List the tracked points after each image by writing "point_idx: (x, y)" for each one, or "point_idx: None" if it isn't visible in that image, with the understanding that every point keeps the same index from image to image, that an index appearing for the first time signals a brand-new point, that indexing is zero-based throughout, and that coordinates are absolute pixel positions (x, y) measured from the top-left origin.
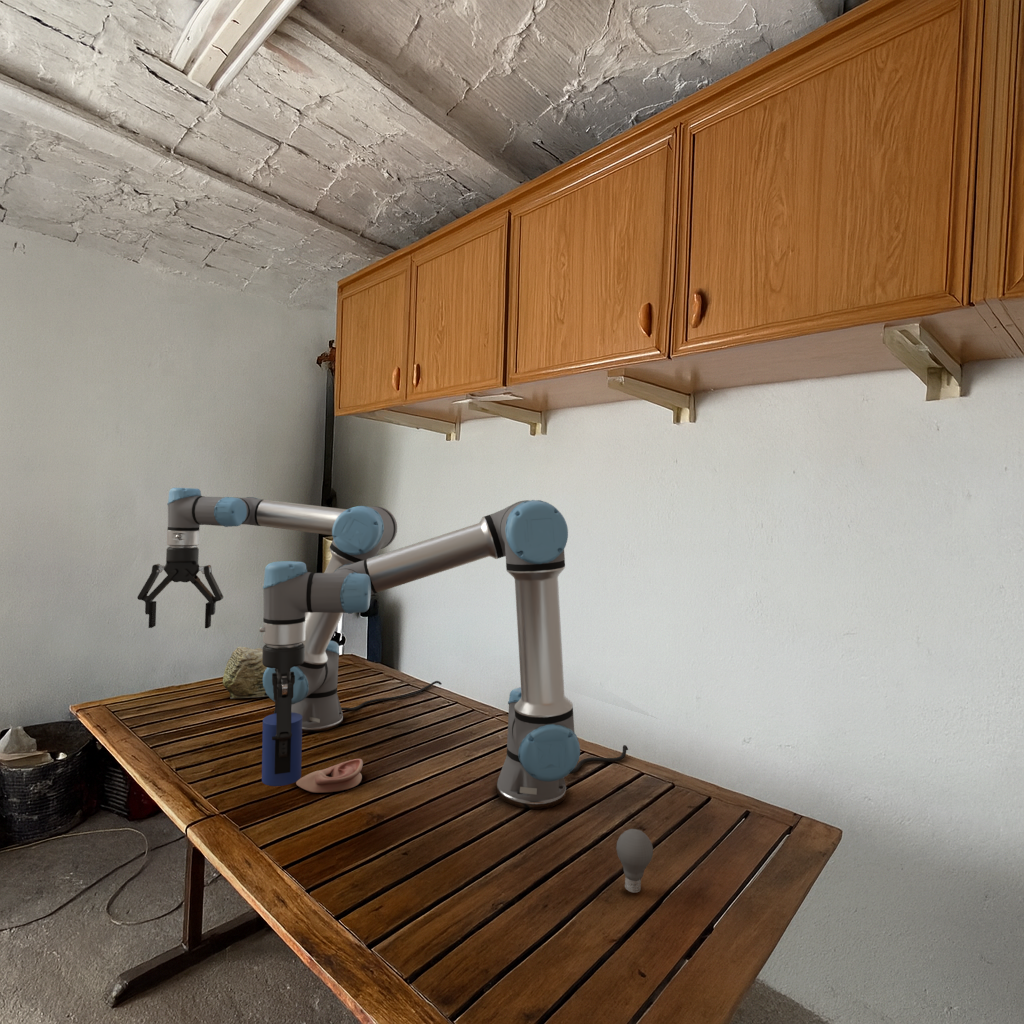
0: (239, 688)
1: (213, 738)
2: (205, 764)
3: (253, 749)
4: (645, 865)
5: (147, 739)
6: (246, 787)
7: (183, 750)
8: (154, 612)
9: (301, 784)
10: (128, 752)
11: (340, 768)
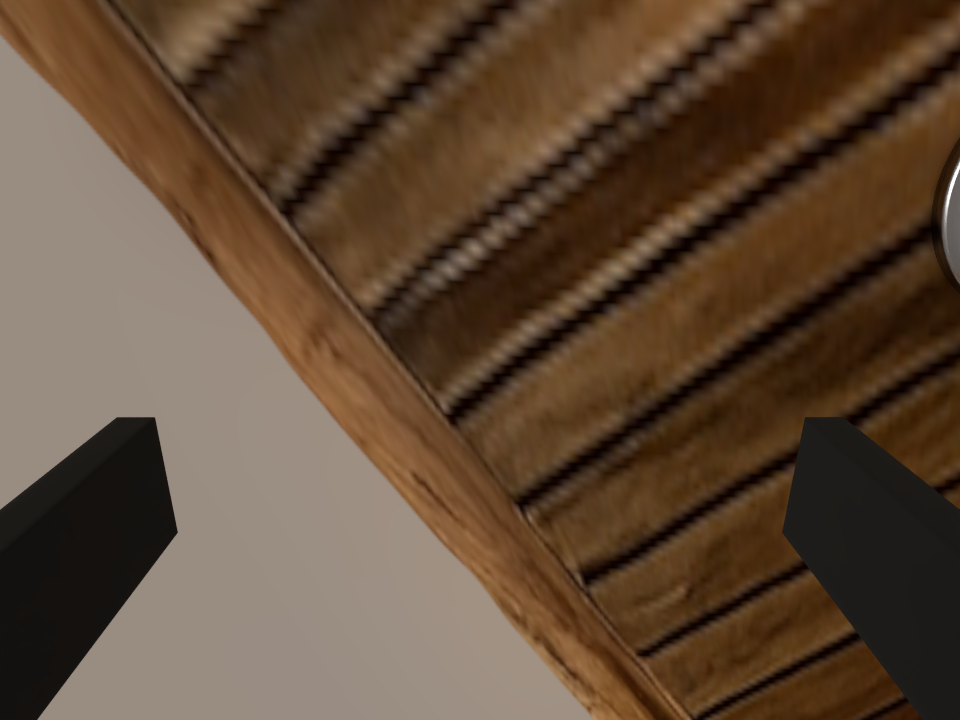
0: None
1: (646, 348)
2: (660, 554)
3: None
4: None
5: (405, 342)
6: (789, 685)
7: (566, 449)
8: (46, 594)
9: None
10: (391, 453)
11: None
